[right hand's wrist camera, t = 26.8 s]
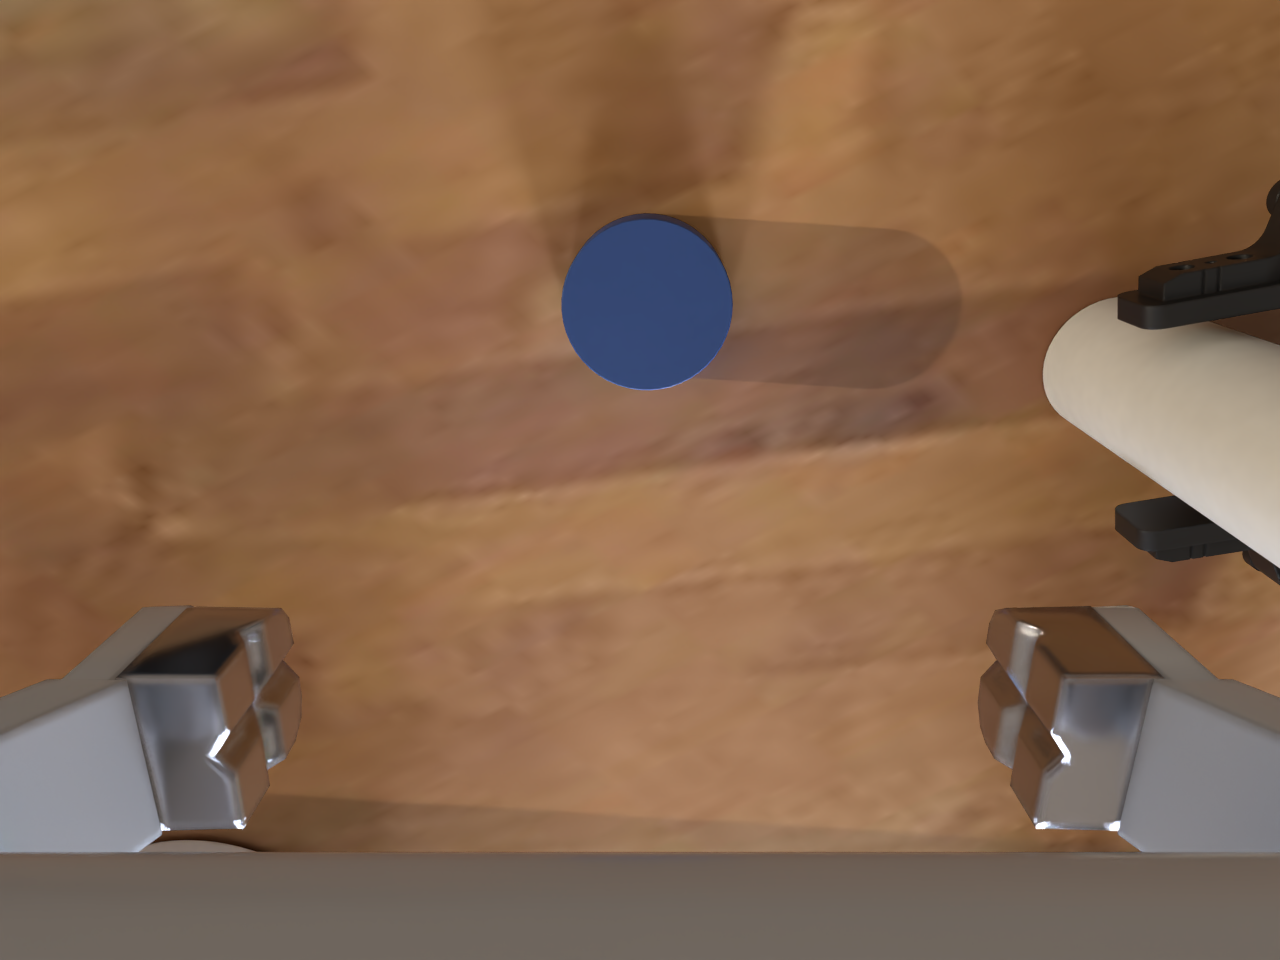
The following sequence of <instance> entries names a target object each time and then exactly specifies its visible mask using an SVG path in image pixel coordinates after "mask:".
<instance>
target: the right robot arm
mask: <svg viewBox="0 0 1280 960" xmlns="http://www.w3.org/2000/svg"><path fill="white" fill-rule="evenodd" d="M293 644H294V641H293V636H292V630H291V625H290V620H289V617H288V616H287V614H286V613H285V612H284V611H283V610H282V608H251V607H193V606H191V605H187V606H157V607H143V608H142V609H140V610H139V611H138V612H137V613H136V614H135V615H134V616H133V617H131V618H130V619H129V620H128V621H127V622H126V623H125V624H124V625H122V626H121V627H120V628H119V629H118V630H117V631H116V632H115V633H113V634H112V635H111V636H110V637H109V638H108V639H107V640H105V641H104V642H103V643H102V644H101V645H100V646H99V647H98V648H96V649H95V650H94V651H93V652H92V653H91V654H90V655H89V656H87V657H86V658H85V659H84V660H83V661H82V662H81V663H79V664H78V665H77V666H76V667H75V668H74V669H73V670H72V671H70V672H69V673H68V674H67V675H66V676H65V677H64V678H63V679H49V680H44V681H42V682H39V683H37V684H34V685H32V686H29V687H26V688H24V689H21V690H19V691H16V692H14V693H11V694H9V695H6V696H3V697H1V698H0V960H1280V698H1279V697H1276V696H1274V695H1271V694H1269V693H1266V692H1264V691H1261V690H1259V689H1256V688H1254V687H1251V686H1248V685H1246V684H1243V683H1241V682H1238V681H1236V680H1232V679H1218V678H1216V677H1215V676H1214V675H1213V674H1212V673H1211V672H1210V671H1208V670H1207V669H1206V668H1205V667H1204V666H1203V665H1202V664H1201V663H1199V662H1198V661H1197V660H1196V659H1195V658H1194V657H1193V656H1192V655H1190V654H1189V653H1188V652H1187V651H1186V650H1185V649H1184V648H1183V647H1181V646H1180V645H1179V644H1178V643H1177V642H1176V641H1175V640H1174V639H1172V638H1171V637H1170V636H1169V635H1168V634H1167V633H1166V632H1165V631H1163V630H1162V629H1161V628H1160V627H1159V626H1158V625H1157V624H1156V623H1154V622H1153V621H1152V620H1151V619H1150V618H1149V617H1148V616H1147V615H1145V614H1144V613H1143V612H1142V611H1141V610H1140V609H1139V608H1135V607H1131V606H1128V605H1122V606H1100V607H1091V606H1073V607H1031V608H1004V609H999V610H995V612H994V614H993V616H992V619H991V621H990V623H989V629H988V634H987V640H986V644H987V645H988V647H989V649H990V650H991V652H992V653H993V655H994V656H995V658H996V659H997V660H996V661H995V663H994V664H993V665H992V666H991V667H990V668H989V669H988V670H987V671H986V672H985V673H984V674H983V675H982V676H981V679H980V688H979V696H978V710H979V720H980V728H981V731H982V734H983V737H984V740H985V743H986V745H987V747H988V748H989V750H990V752H991V754H992V756H993V757H994V759H996V760H998V761H999V762H1001V763H1002V764H1004V765H1006V766H1007V767H1009V768H1011V769H1012V770H1013V771H1012V777H1011V783H1010V786H1011V788H1012V789H1013V791H1014V793H1015V794H1016V796H1017V798H1018V799H1019V801H1020V803H1021V804H1022V806H1023V808H1024V809H1025V811H1026V813H1027V814H1028V816H1029V818H1030V819H1031V821H1032V823H1033V824H1034V826H1035V828H1042V829H1079V830H1116V831H1118V835H1120V836H1121V837H1122V838H1124V839H1125V840H1126V841H1128V842H1129V843H1130V844H1132V845H1133V846H1135V847H1136V848H1137V849H1139V850H1140V851H1141V852H256V851H253V850H250V849H246V848H242V847H239V846H234V845H230V844H225V843H219V842H211V841H200V840H175V841H164V842H158V843H152V844H150V843H151V842H153V841H154V840H155V839H157V838H158V837H159V836H161V835H162V831H164V830H200V829H236V828H245V826H246V824H247V823H248V821H249V819H250V818H251V816H252V814H253V813H254V811H255V809H256V808H257V806H258V804H259V803H260V801H261V799H262V798H263V796H264V794H265V793H266V791H267V789H268V788H269V786H270V783H269V777H268V771H267V770H268V769H269V768H271V767H273V766H274V765H276V764H278V763H279V762H281V761H282V760H284V759H286V757H287V755H288V754H289V752H290V750H291V748H292V746H293V745H294V743H295V741H296V737H297V733H298V729H299V725H300V721H301V715H302V693H301V686H300V679H299V676H298V675H297V674H296V673H295V672H294V671H293V670H292V669H291V668H290V667H289V666H288V665H287V664H286V663H285V661H284V660H283V659H284V658H285V656H286V655H287V653H288V652H289V650H290V649H291V647H292V645H293Z"/></svg>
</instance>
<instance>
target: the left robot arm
mask: <svg viewBox="0 0 1280 960" xmlns="http://www.w3.org/2000/svg"><path fill="white" fill-rule="evenodd" d="M1266 204H1267V209H1268V211H1269V213H1270V214H1271V217H1270V220H1269V222H1268V225H1267V227H1266V229H1265V231H1264V233H1263V235H1262V236H1261V237H1260V239H1259V240H1258V241H1257V242H1256V243H1255V244H1253V245H1252V246H1250V247H1249V248H1247V249H1244V250H1242V251H1238V252H1232V253H1227V254H1221V255H1216V256H1211V257H1205V258H1200V259H1194V260H1189V261H1183V262H1178V263H1172V264H1167V265H1162V266H1156V267H1154V268H1153V269H1151V270H1149V271H1147V272H1146V273H1144V274H1142V275H1140V276H1139V286H1138V290H1134V291H1129V292H1124V293H1121V294H1119V295H1118V302H1117V319H1118V320H1121V321H1123V322H1126V323H1128V324H1131V325H1133V326H1136V327H1138V328H1141V329H1147V330H1159V329H1167V328H1173V327H1178V326H1184V325H1190V324H1195V323H1201V322H1207V321H1212V320H1218V319H1223V318H1229V317H1235V316H1240V315H1246V314H1252V313H1257V312H1263V311H1268V310H1274V309H1280V180H1279V181H1278V182H1277V183H1276V184H1275V185H1274V186H1273V187H1272V188H1271V190H1270V191H1269V194H1268V196H1267V202H1266ZM1115 529H1116V530H1117V531H1118V532H1119V533H1120V534H1121V535H1122V536H1123V537H1125V538H1126V539H1127V540H1128V541H1129V542H1130V543H1132V544H1133V545H1134V546H1135V547H1136V548H1138V549H1141V550H1144V551H1147V552H1149V553H1150V554H1151V555H1152V556H1153V557H1154V558H1156V559H1159V560H1164V561H1170V562H1175V561H1182V560H1188V559H1190V558H1192V559H1195V558H1201V557H1203V556H1206V557H1207V556H1214V555H1220V554H1227V553H1233V552H1240V551H1243V553H1242V555H1243V559H1244V560H1245V562H1246V563H1248V564H1249V565H1250V566H1252V567H1253V568H1255V569H1256V570H1258V571H1261V572H1262V573H1264V574H1265V575H1266V576H1268V577H1269V578H1271V579H1272V580H1273V581H1275V582H1276V583H1278V584H1279V585H1280V568H1279V567H1277V566H1276V565H1275V564H1273V563H1272V562H1270V561H1269V560H1267V559H1266V558H1264V557H1263V556H1262V555H1260V554H1259V553H1257V552H1256V551H1254V550H1253V549H1252V548H1250V547H1249V546H1247V545H1246V544H1244V543H1243V542H1241V541H1240V540H1239V539H1237V538H1236V537H1234V536H1233V535H1231V534H1230V533H1229V532H1227V531H1226V530H1224V529H1223V528H1221V527H1220V526H1218V525H1217V524H1216V523H1214V522H1213V521H1211V520H1210V519H1208V518H1207V517H1205V516H1204V515H1203V514H1201V513H1200V512H1198V511H1197V510H1195V509H1194V508H1193V507H1191V506H1190V505H1188V504H1187V503H1185V502H1184V501H1182V500H1181V499H1180V498H1178V497H1177V496H1175V495H1174V496H1168V497H1162V498H1156V499H1150V500H1144V501H1137V502H1131V503H1125V504H1121V505H1118V506H1117V507H1116V508H1115Z"/></svg>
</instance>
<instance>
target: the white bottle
mask: <svg viewBox="0 0 1280 960" xmlns="http://www.w3.org/2000/svg"><path fill="white" fill-rule="evenodd" d="M1117 302H1118V297H1115V298H1109V299H1106V300H1102V301H1099V302H1096V303H1094V304H1092V305H1090V306H1088V307H1086V308H1084V309H1083V310H1081V311H1079V312H1078V313H1077V314H1075V315H1074V316H1073V317H1072V318H1070V319H1069V320H1068V321H1067V322H1066V323H1065V324H1064V325H1063V326H1062V328H1061V329H1060V330H1059V331H1058V333H1057V334H1056V336H1055V337H1054V339H1053V340H1052V342H1051V344H1050V346H1049V349H1048V351H1047V354H1046V357H1045V361H1044V367H1043V383H1044V389H1045V392H1046V395H1047V398H1048V400H1049V402H1050V403H1051V405H1052V406H1053V408H1054V409H1055V410H1056V411H1057V412H1058V413H1059V414H1060V415H1061V416H1062V417H1063V418H1065V419H1066V420H1067V421H1069V422H1070V423H1072V424H1073V425H1075V426H1076V427H1077V428H1079V429H1080V430H1082V431H1083V432H1085V433H1086V434H1088V435H1089V436H1090V437H1092V438H1093V439H1095V440H1096V441H1098V442H1099V443H1100V444H1102V445H1103V446H1105V447H1106V448H1108V449H1109V450H1111V451H1112V452H1113V453H1115V454H1116V455H1118V456H1119V457H1121V458H1122V459H1123V460H1125V461H1126V462H1128V463H1129V464H1131V465H1132V466H1134V467H1135V468H1136V469H1138V470H1139V471H1141V472H1142V473H1144V474H1145V475H1147V476H1148V477H1149V478H1151V479H1152V480H1154V481H1155V482H1157V483H1158V484H1159V485H1161V486H1162V487H1164V488H1165V489H1167V490H1168V491H1170V492H1171V493H1172V494H1174V495H1175V496H1177V497H1178V498H1180V499H1181V500H1182V501H1184V502H1185V503H1187V504H1188V505H1190V506H1191V507H1193V508H1194V509H1195V510H1197V511H1198V512H1200V513H1201V514H1203V515H1204V516H1205V517H1207V518H1208V519H1210V520H1211V521H1213V522H1214V523H1216V524H1217V525H1218V526H1220V527H1221V528H1223V529H1224V530H1226V531H1227V532H1229V533H1230V534H1231V535H1233V536H1234V537H1236V538H1237V539H1239V540H1240V541H1241V542H1243V543H1244V544H1246V545H1247V546H1249V547H1250V548H1252V549H1253V550H1254V551H1256V552H1257V553H1259V554H1260V555H1262V556H1263V557H1264V558H1266V559H1267V560H1269V561H1270V562H1272V563H1273V564H1275V565H1276V566H1277V567H1279V568H1280V345H1277V344H1274V343H1271V342H1268V341H1266V340H1263V339H1260V338H1257V337H1254V336H1251V335H1248V334H1245V333H1242V332H1239V331H1236V330H1233V329H1230V328H1227V327H1224V326H1221V325H1218V324H1215V323H1212V322H1209V321H1207V322H1201V323H1195V324H1190V325H1184V326H1178V327H1173V328H1167V329H1159V330H1147V329H1141V328H1138V327H1136V326H1133V325H1131V324H1128V323H1126V322H1123V321H1121V320H1118V319H1117Z"/></svg>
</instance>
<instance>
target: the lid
mask: <svg viewBox="0 0 1280 960" xmlns="http://www.w3.org/2000/svg"><path fill="white" fill-rule="evenodd" d="M732 306H733V303H732V291H731V286H730V282H729V279H728V276H727V273H726V270H725V268H724V266H723V264H722V262H721V260H720V258H719V256H718V254H717V253H716V251H715V250H714V248H713V247H712V245H711V244H710V243H709V242H708V241H707V240H706V238H705V237H704V236H703V235H701V234H700V233H699V232H698V231H697V230H696V229H694V228H693V227H691V226H689V225H688V224H686V223H684V222H682V221H680V220H678V219H675V218H672V217H669V216H665V215H659V214H645V213H644V214H635V215H630V216H626V217H622V218H620V219H617V220H615V221H613V222H611V223H609V224H607V225H605V226H604V227H602V228H601V229H600V230H598V231H597V232H596V233H595V234H594V235H593V236H592V237H591V238H590V239H589V240H588V241H587V242H586V243H585V244H584V246H583V247H582V248H581V250H580V251H579V253H578V254H577V256H576V257H575V259H574V261H573V263H572V264H571V266H570V268H569V271H568V273H567V276H566V279H565V282H564V286H563V292H562V317H563V323H564V326H565V330H566V333H567V336H568V338H569V340H570V343H571V344H572V346H573V348H574V350H575V351H576V353H577V354H578V355H579V357H580V358H581V359H582V361H583V362H584V363H585V364H586V365H587V366H588V367H589V368H590V369H591V370H593V371H594V372H595V373H597V374H598V375H599V376H601V377H603V378H604V379H606V380H608V381H610V382H612V383H614V384H617V385H619V386H623V387H626V388H631V389H637V390H657V389H663V388H668V387H672V386H674V385H677V384H680V383H682V382H684V381H686V380H688V379H690V378H692V377H693V376H695V375H696V374H698V373H699V372H700V371H701V370H703V369H704V368H705V367H706V366H707V365H708V364H709V363H710V362H711V361H712V359H713V358H714V357H715V356H716V354H717V353H718V351H719V350H720V348H721V347H722V344H723V342H724V340H725V338H726V336H727V333H728V330H729V327H730V322H731V317H732Z"/></svg>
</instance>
